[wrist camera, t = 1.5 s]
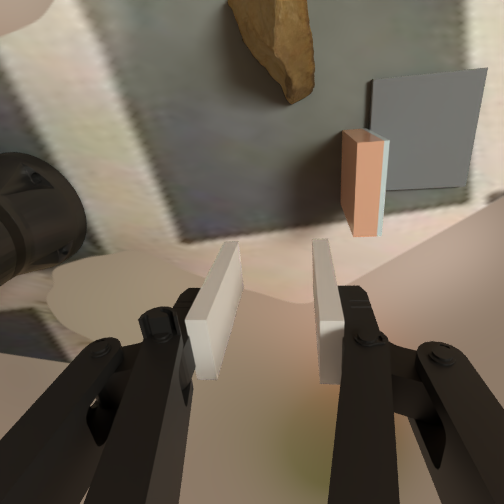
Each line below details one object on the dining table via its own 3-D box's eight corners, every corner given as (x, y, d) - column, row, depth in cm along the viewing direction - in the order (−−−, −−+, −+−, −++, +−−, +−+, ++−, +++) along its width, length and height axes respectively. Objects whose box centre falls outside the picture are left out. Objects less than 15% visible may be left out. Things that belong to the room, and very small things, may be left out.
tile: (340, 203, 38) (353, 236, 29) (342, 130, 35) (357, 142, 26) (362, 202, 38) (381, 236, 29) (366, 128, 34) (389, 140, 25)
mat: (365, 189, 37) (366, 191, 36) (371, 79, 32) (373, 79, 32) (462, 184, 35) (465, 186, 35) (483, 68, 31) (487, 67, 30)
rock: (341, 105, 32) (353, -30, 26) (284, 123, 27) (284, -40, 21) (259, 98, 38) (255, -12, 33) (201, 111, 33) (185, -16, 28)
